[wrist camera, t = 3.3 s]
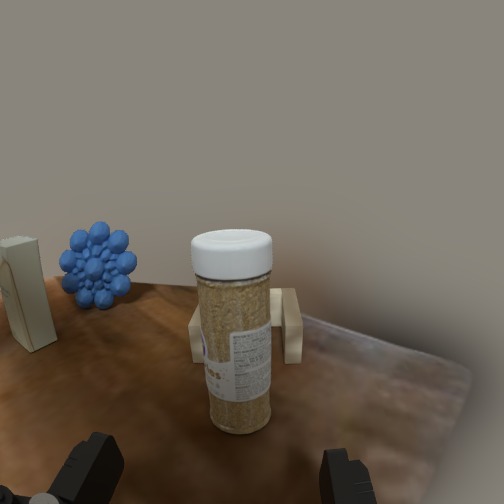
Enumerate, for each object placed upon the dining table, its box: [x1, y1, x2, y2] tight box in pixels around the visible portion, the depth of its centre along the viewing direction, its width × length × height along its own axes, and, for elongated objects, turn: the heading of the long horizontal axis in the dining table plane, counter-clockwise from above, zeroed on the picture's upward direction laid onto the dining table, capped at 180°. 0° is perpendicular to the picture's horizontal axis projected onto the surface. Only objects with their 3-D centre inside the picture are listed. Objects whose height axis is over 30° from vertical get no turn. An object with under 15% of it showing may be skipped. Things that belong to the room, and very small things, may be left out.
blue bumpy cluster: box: [59, 222, 137, 309], centre depth 39 cm, size 12×7×12 cm, turn 100°
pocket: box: [188, 288, 303, 364], centre depth 31 cm, size 10×9×4 cm
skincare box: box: [0, 235, 57, 353], centre depth 28 cm, size 6×4×12 cm
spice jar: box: [191, 229, 273, 434], centre depth 19 cm, size 5×5×14 cm
